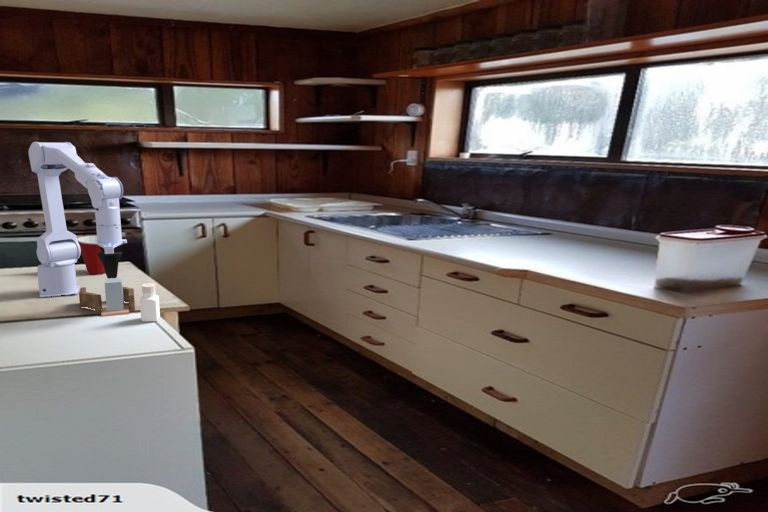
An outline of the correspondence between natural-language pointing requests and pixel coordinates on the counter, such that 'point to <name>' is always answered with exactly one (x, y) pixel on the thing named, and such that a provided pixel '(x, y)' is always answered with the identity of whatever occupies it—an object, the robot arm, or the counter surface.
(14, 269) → the counter surface
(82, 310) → the counter surface
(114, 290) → the slate block
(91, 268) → the plastic cup
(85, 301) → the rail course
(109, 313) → the coaster
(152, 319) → the pepper shaker
